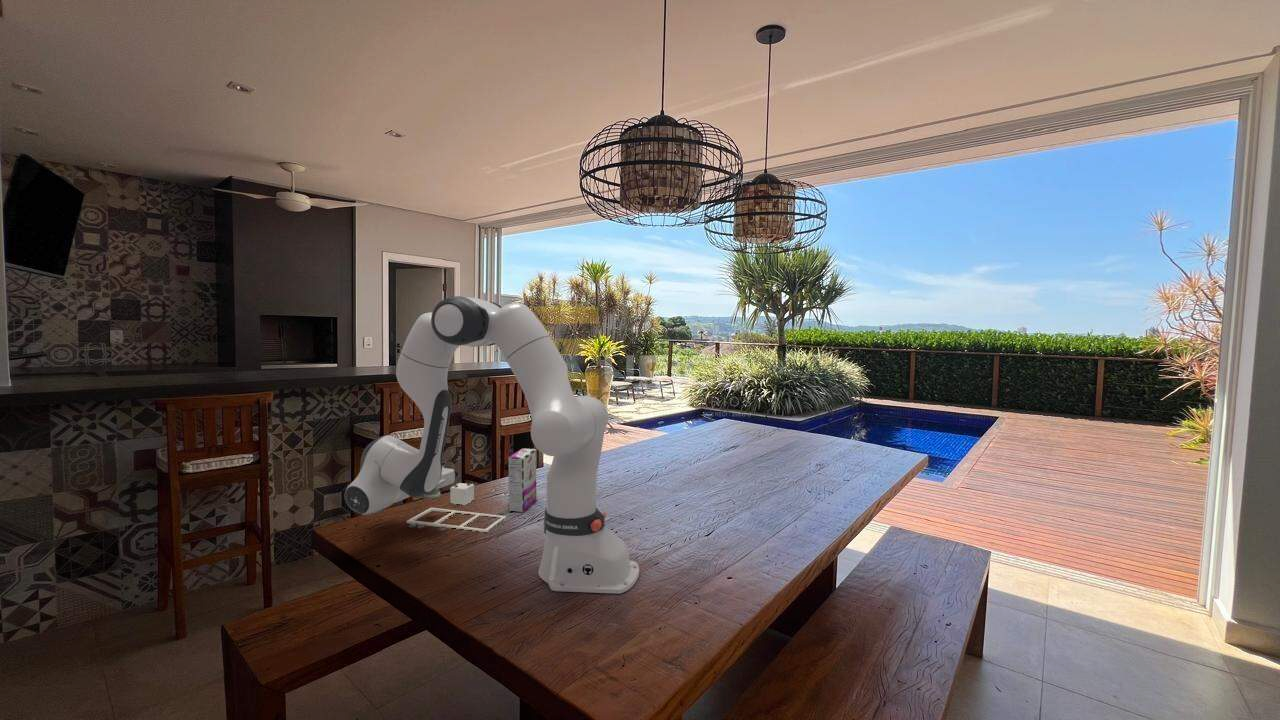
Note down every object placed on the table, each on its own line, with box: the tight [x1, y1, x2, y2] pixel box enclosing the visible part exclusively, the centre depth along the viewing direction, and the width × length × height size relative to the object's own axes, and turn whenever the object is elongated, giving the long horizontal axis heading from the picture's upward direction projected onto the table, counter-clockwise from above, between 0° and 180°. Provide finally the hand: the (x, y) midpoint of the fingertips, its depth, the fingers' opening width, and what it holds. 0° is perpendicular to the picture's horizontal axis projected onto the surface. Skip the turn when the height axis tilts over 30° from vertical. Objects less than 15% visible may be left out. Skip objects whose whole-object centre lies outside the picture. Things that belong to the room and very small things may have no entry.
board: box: [406, 507, 507, 533], centre depth 149 cm, size 24×13×1 cm, turn 77°
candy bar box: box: [507, 447, 537, 513], centre depth 163 cm, size 11×5×16 cm, turn 171°
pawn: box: [422, 488, 441, 500], centre depth 151 cm, size 4×4×14 cm
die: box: [449, 482, 475, 506], centre depth 166 cm, size 5×5×6 cm
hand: (433, 467), depth 152 cm, fingers closed on pawn, 4 cm apart
